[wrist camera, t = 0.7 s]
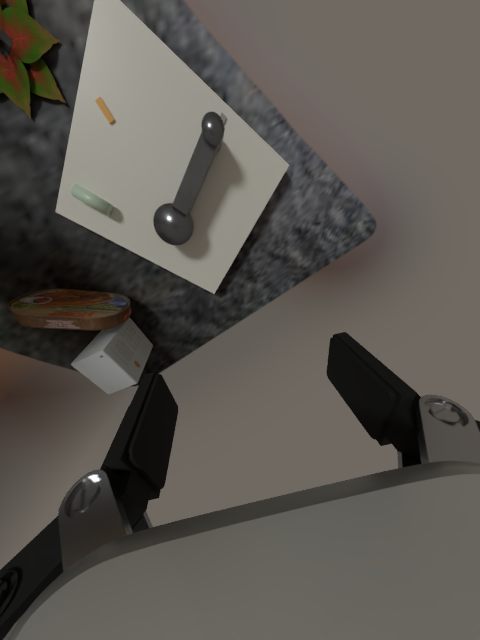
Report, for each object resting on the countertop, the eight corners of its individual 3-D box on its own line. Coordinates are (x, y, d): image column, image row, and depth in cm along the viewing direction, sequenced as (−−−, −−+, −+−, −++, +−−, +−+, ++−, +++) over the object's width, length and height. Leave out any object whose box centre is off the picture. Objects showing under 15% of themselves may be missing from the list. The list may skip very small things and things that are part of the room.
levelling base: (65, 212, 26) (46, 211, 23) (108, 1, 19) (88, -42, 16) (214, 290, 35) (214, 297, 32) (284, 168, 27) (293, 162, 24)
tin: (137, 294, 33) (117, 316, 26) (139, 310, 35) (120, 334, 28) (39, 285, 30) (-15, 307, 23) (45, 303, 32) (-4, 328, 25)
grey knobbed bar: (185, 249, 29) (182, 253, 25) (153, 230, 27) (144, 232, 23) (233, 146, 24) (238, 133, 20) (198, 114, 22) (196, 93, 18)
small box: (104, 326, 35) (67, 364, 26) (129, 315, 35) (101, 349, 26) (131, 355, 39) (107, 396, 30) (154, 345, 39) (137, 384, 30)
